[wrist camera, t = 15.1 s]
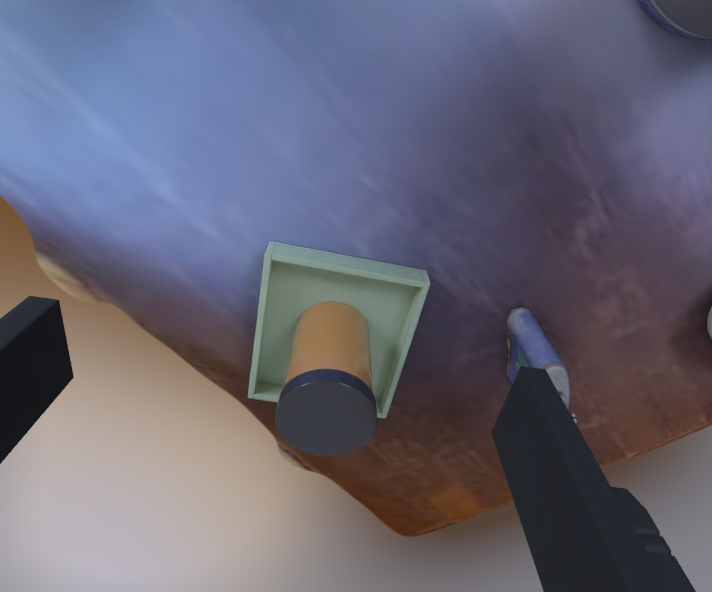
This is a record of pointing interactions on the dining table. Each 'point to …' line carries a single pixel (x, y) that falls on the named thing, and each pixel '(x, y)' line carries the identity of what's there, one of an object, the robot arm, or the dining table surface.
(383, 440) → the dining table surface
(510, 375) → the flask
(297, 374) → the jar
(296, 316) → the serving tray
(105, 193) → the dining table surface
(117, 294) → the dining table surface
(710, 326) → the donut
